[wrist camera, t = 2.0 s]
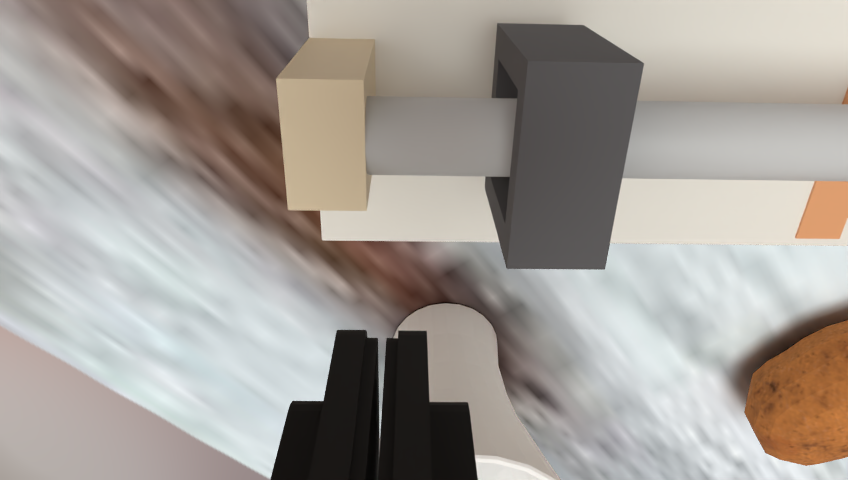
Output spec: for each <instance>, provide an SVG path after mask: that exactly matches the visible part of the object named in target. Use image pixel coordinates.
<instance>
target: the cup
mask: <svg viewBox="0 0 848 480" xmlns="http://www.w3.org/2000/svg"><path fill="white" fill-rule="evenodd" d="M398 330H400V331H427V347H428V375H429V402H468V405H469V410H470V418H471V426H472V435H473V443H474V452H475V460H476V469H477V477H478V480H561V479H560V478H559V477H558V475H557V474H556V472H555V471H554V470H553V468H552V467H551V465H550V464H549V463H548V461H547V460H546V458H545V457H544V455H543V454H542V452H541V451H540V449H539V448H538V446H537V445H536V443H535V442H534V440H533V439H532V437H531V436H530V434H529V433H528V431H527V430H526V428H525V427H524V425H523V424H522V422H521V421H520V420H519V418H518V417H517V415H516V413H515V411H514V408H513V406H512V404H511V402H510V400H509V398H508V396H507V393H506V390H505V386H504V383H503V380H502V376H501V373H500V369H499V366H498V349H497V338H496V333H495V331H494V329H493V327H492V325H491V324H490V322H489V321H488V320H487V319H486V318H485V317H484V316H483V315H482V314H480V313H478V312H477V311H475V310H474V309H472V308H469V307H466V306H463V305H459V304H449V303H443V304H435V305H430V306H427V307H424V308H422V309H419V310H417V311H415V312H414V313H412V314H411V315H409V316H408V317H406V319H405V320H404V321H403V322H402V323H401V324H400V325H399V327H398V329H397V331H396V333H395V335H394V338H398ZM379 452H380V439H379Z"/></svg>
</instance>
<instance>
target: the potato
mask: <svg viewBox="0 0 848 480" xmlns="http://www.w3.org/2000/svg"><path fill="white" fill-rule="evenodd" d="M744 413H745V415H746V417H747V419H748V421H749V423H750V425H751V427H752V429H753V431H754V433H755V435H756V437H757V438H758V440H759V442H760V444H761V446H762V447H763V449H764V451H765V453H767V454H769V455H771V456H774V457H776V458H778V459H780V460H784V461H789V462H793V463H797V464H801V465H805V466H807V465H814V464H820V463H824V462H828V461H833V460H837V459H842V458H845V457H848V320H847V321H843V322H840V323H837V324H834V325H830V326H827V327H825V328H823V329H821V330H819V331H817V332H815V333H813V334H811V335H809V336H807V337H805V338H803V339H802V340H800V341H799V342H797V343H796V344H794V345H793V346H792V347H790V348H789V349H787V350H786V351H784V352H782V353H781V354H779V355H777V356H775V357H774V358H772V359H770V360H768V361H767V362H766V363H764V364H763V365H762V366H761V367H760V368H759V369H758V370H757V371H755V372H754V373H753V374H752V378H751V383H750V387H749V391H748V396H747V401H746V406H745V411H744Z"/></svg>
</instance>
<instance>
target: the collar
mask: <svg viewBox="0 0 848 480" xmlns="http://www.w3.org/2000/svg"><path fill="white" fill-rule="evenodd" d="M643 67H644V63H643V62H641V61H640V60H638V59H637V58H635V57H633V56H632V55H630V54H629V53H627V52H625V51H624V50H622V49H621V48H619V47H618V46H616V45H614V44H613V43H611V42H610V41H608V40H607V39H605V38H603V37H602V36H600V35H599V34H597V33H595V32H594V31H592V30H591V29H589V28H588V27H586V26H584V25H563V24H516V23H497V32H496V45H495V58H494V72H493V85H492V98H512V99H517V106H516V117H515V127H514V137H513V148H512V158H511V168H510V177H486V176H485V191H486V195H487V198H488V202H489V206H490V209H491V213H492V217H493V220H494V224H495V227H496V231H497V235H498V238H499V242H500V246H501V249H502V253H503V256H504V260H505V264H506V267H507V269H605V266H606V261H607V255H608V250H609V245H610V240H611V234H612V229H613V224H614V219H615V213H616V208H617V203H618V198H619V193H620V187H621V182H622V177H623V172H624V166H625V161H626V156H627V151H628V145H629V140H630V135H631V130H632V124H633V119H634V114H635V109H636V104H637V98H638V93H639V88H640V83H641V77H642V72H643Z"/></svg>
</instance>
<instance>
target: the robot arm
mask: <svg viewBox="0 0 848 480" xmlns="http://www.w3.org/2000/svg"><path fill="white" fill-rule="evenodd" d="M271 480H478V477H477V469H476V460H475V452H474V443H473V435H472V426H471V418H470V410H469V405H468V402H429V375H428V347H427V331H400V330H398V338H387V341H386V356H385V372H384V388H383V404H382V420H381V436H380V452H379V379H378V338H367V331H366V330H337V333H336V338H335V343H334V348H333V354H332V359H331V364H330V370H329V375H328V380H327V386H326V391H325V396H324V401H292V403H291V404H290V407H289V410H288V414H287V418H286V422H285V425H284V429H283V433H282V437H281V441H280V445H279V449H278V453H277V457H276V460H275V464H274V468H273V472H272V476H271Z"/></svg>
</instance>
